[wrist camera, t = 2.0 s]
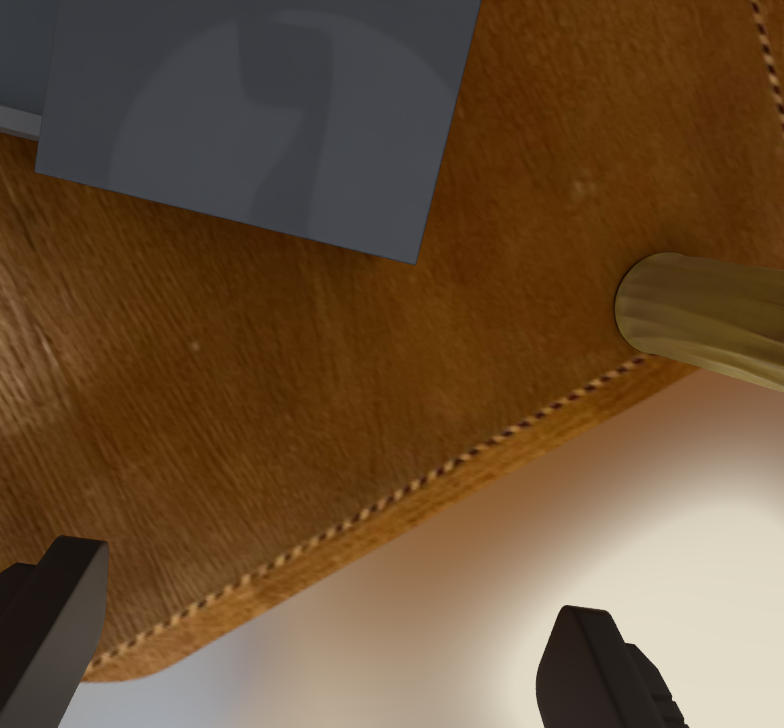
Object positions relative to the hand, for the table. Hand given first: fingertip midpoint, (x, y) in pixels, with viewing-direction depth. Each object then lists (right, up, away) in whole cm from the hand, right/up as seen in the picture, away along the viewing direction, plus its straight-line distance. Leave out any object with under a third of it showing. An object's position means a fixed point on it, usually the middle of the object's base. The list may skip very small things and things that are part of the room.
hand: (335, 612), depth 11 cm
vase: (+17, +8, +27) cm, 33 cm away
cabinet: (-5, +18, +22) cm, 29 cm away
